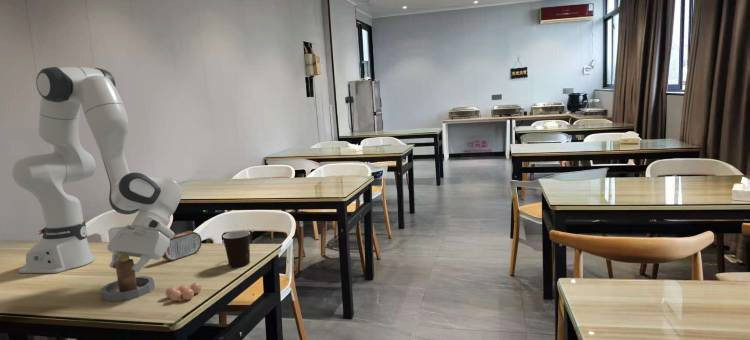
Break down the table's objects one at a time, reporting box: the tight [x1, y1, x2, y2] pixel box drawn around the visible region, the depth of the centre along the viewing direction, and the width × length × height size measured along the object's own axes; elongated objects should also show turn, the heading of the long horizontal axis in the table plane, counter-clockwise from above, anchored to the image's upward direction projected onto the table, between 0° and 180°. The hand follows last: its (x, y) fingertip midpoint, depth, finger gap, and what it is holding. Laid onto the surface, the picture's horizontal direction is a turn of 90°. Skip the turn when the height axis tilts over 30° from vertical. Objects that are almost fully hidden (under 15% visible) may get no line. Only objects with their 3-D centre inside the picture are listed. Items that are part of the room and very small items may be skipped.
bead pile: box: [165, 282, 202, 302], centre depth 134 cm, size 9×7×3 cm
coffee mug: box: [222, 230, 251, 269], centre depth 160 cm, size 12×9×10 cm
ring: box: [101, 275, 155, 302], centre depth 141 cm, size 13×13×2 cm
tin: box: [161, 230, 202, 261], centre depth 170 cm, size 15×3×8 cm, turn 144°
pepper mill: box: [115, 253, 138, 292], centre depth 140 cm, size 5×5×12 cm
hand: (123, 269), depth 140 cm, fingers open, 8 cm apart
